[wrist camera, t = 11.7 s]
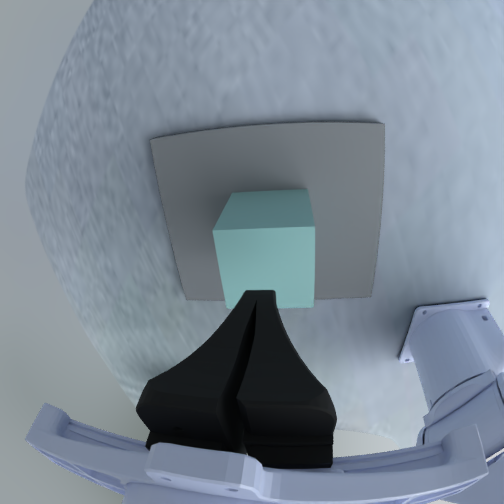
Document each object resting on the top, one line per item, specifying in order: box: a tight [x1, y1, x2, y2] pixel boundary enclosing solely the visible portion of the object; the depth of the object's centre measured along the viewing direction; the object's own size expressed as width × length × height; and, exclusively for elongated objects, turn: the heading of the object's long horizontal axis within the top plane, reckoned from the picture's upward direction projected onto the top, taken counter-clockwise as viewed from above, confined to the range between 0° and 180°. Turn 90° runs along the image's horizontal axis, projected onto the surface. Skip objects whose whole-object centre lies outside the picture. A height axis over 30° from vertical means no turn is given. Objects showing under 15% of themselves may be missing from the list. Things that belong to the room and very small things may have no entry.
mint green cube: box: [212, 189, 315, 308], centre depth 19 cm, size 5×5×6 cm
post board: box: [150, 122, 385, 301], centre depth 19 cm, size 16×14×6 cm
